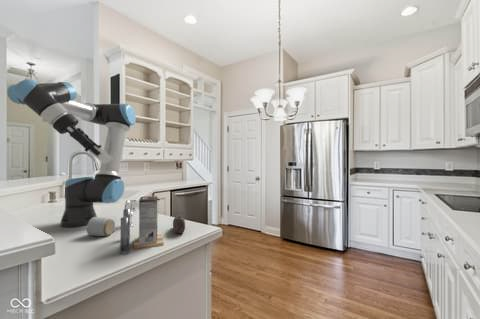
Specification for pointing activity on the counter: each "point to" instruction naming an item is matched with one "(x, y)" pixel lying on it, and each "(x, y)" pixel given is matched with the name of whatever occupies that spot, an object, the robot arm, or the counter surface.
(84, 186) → the robot arm
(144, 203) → the coffee box
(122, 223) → the metal drawer handle
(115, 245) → the counter surface
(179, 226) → the perforated stone tool
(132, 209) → the wineglass
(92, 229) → the ceramic mug
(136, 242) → the oak trivet
